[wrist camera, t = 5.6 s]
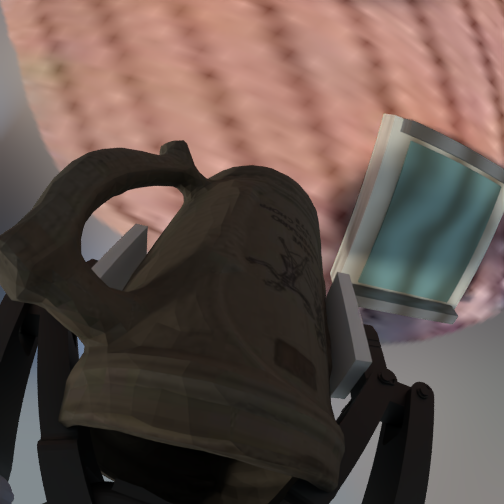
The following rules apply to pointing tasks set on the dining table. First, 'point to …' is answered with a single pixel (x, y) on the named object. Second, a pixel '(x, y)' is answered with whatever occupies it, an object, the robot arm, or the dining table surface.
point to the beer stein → (191, 329)
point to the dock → (420, 222)
